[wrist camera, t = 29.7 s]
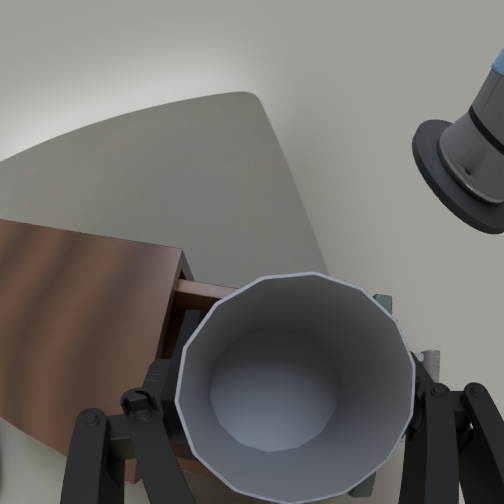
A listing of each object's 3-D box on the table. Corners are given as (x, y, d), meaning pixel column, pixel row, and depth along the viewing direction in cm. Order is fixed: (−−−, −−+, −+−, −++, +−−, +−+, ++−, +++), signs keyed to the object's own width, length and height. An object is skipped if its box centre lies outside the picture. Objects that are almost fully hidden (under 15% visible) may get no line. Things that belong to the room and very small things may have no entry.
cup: (293, 471, 15) (337, 533, 6) (184, 408, 17) (129, 421, 8) (358, 366, 19) (444, 337, 10) (255, 306, 20) (266, 232, 11)
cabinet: (204, 303, 27) (182, 248, 17) (175, 451, 21) (134, 485, 11) (57, 271, 27) (-1, 218, 18) (26, 391, 21) (-49, 377, 12)
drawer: (405, 332, 25) (462, 303, 17) (392, 463, 19) (450, 482, 11) (172, 300, 26) (142, 257, 18) (144, 438, 20) (97, 456, 12)
